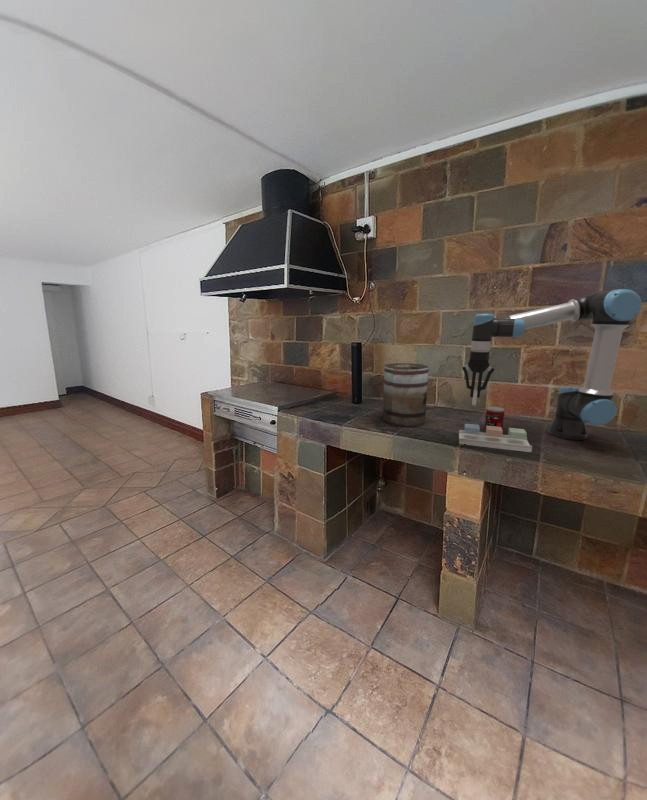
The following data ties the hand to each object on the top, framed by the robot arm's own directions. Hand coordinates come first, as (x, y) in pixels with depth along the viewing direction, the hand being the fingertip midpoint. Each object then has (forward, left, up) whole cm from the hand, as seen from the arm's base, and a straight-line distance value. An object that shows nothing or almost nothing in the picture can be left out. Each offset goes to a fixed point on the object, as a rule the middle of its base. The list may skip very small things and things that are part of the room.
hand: (473, 404), depth 149 cm
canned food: (-11, -20, -17) cm, 29 cm away
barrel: (+33, -20, -17) cm, 42 cm away
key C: (0, 0, -13) cm, 13 cm away
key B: (-9, 0, -13) cm, 16 cm away
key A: (-18, 0, -13) cm, 22 cm away
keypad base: (-9, 0, -17) cm, 19 cm away
